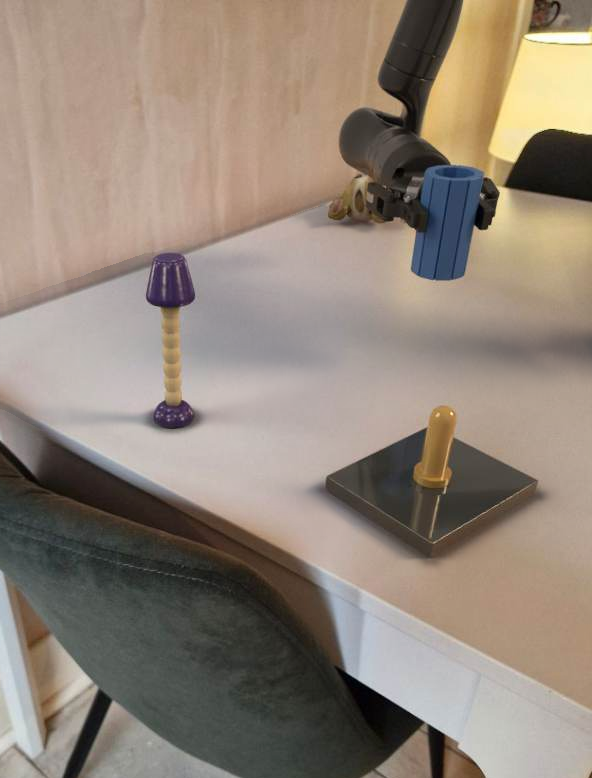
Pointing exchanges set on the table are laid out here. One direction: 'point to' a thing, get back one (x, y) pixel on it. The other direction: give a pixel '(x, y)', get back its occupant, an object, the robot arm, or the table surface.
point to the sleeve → (447, 221)
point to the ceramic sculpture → (354, 201)
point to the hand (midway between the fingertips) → (455, 221)
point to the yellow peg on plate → (431, 486)
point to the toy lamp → (171, 332)
